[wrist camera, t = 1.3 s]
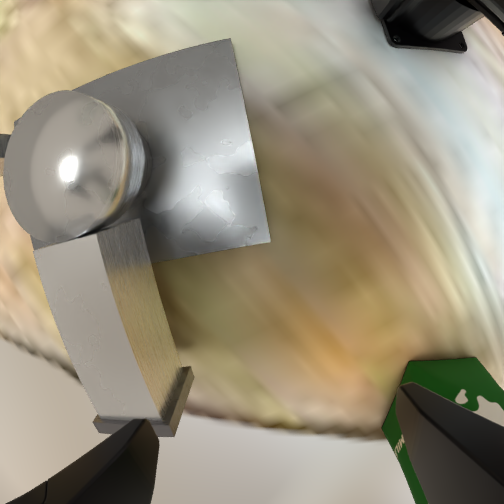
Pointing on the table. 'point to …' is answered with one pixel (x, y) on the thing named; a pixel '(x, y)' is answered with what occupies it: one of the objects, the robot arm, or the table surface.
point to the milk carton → (454, 389)
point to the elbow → (96, 256)
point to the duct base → (187, 152)
